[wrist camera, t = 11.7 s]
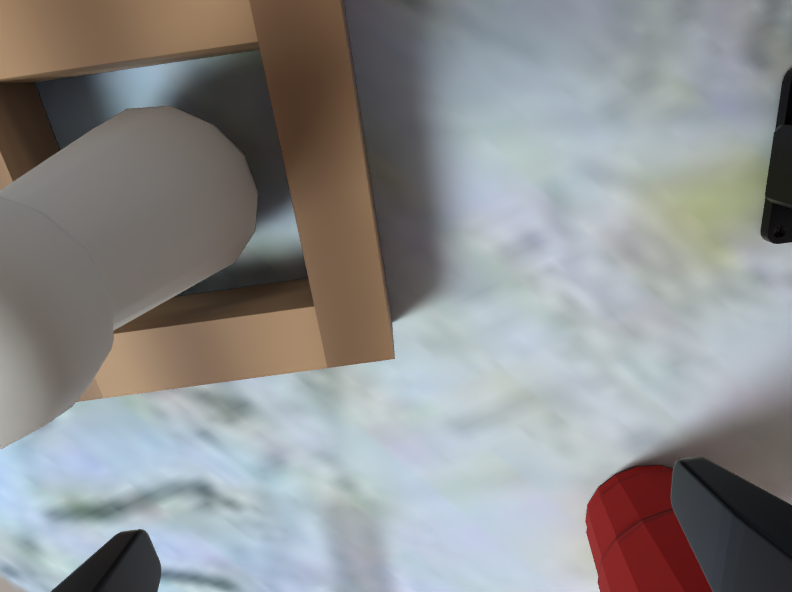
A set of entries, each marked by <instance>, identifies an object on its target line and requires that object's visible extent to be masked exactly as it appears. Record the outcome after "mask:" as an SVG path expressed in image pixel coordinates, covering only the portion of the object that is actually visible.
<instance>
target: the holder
mask: <svg viewBox="0 0 792 592" xmlns="http://www.w3.org/2000/svg"><path fill="white" fill-rule="evenodd" d="M254 50H260V53H261V58H262V63H263V68H264V72H265V77H266V82H267V86H268V91H269V96H270V100H271V105H272V110H273V115H274V119H275V124H276V129H277V133H278V138H279V143H280V147H281V152H282V157H283V161H284V166H285V171H286V176H287V180H288V185H289V190H290V194H291V199H292V204H293V208H294V213H295V218H296V223H297V227H298V232H299V237H300V241H301V246H302V251H303V255H304V260H305V265H306V269H307V274H308V278H307V279H299V280H292V281H285V282H278V283H271V284H263V285H256V286H249V287H242V288H234V289H227V290H220V291H213V292H205V293H198V294H191V295H184V296H176V297H172V298H171V299H169V300H167V301H165V302H163V303H162V304H160V305H158V306H156V307H155V308H153V309H151V310H149V311H148V312H146V313H144V314H142V315H140V316H139V317H137V318H135V319H133V320H132V321H130V322H128V323H126V324H124V325H123V326H121V327H119V328H117V329H116V330H114V331H113V333H114V340H113V345H112V349H111V351H110V352H109V354H108V356H107V357H106V359H105V361H104V362H103V364H102V366H101V367H100V369H99V370H98V372H97V374H96V375H95V377H94V379H93V380H92V382H91V383H90V385H89V386H88V388H87V389H86V390H85V391H84V393H83V394H82V395H81V396H80V398H79V399H78V400H77V401H76V402H79V401H86V400H94V399H101V398H109V397H116V396H123V395H131V394H138V393H146V392H153V391H160V390H168V389H175V388H182V387H190V386H197V385H205V384H212V383H219V382H227V381H234V380H242V379H249V378H256V377H264V376H271V375H279V374H286V373H293V372H301V371H308V370H316V369H323V368H330V367H338V366H345V365H353V364H360V363H367V362H375V361H382V360H390V359H395V356H394V341H393V327H392V319H391V312H390V305H389V299H388V292H387V285H386V279H385V272H384V265H383V259H382V252H381V246H380V239H379V232H378V226H377V219H376V212H375V206H374V199H373V193H372V186H371V179H370V173H369V166H368V159H367V153H366V146H365V140H364V133H363V126H362V120H361V113H360V106H359V100H358V93H357V86H356V80H355V73H354V67H353V60H352V53H351V47H350V40H349V33H348V27H347V20H346V14H345V7H344V0H0V190H1V189H3V188H4V187H6V186H7V185H9V184H10V183H12V182H13V181H15V180H16V179H18V178H20V177H21V176H23V175H24V174H26V173H27V172H29V171H30V170H32V169H33V168H35V167H36V166H38V165H39V164H41V163H42V162H44V161H45V160H47V159H48V158H50V157H51V156H53V155H54V154H56V153H57V152H59V151H60V149H59V147H58V144H57V141H56V139H55V136H54V133H53V131H52V128H51V125H50V123H49V120H48V117H47V115H46V112H45V109H44V107H43V104H42V101H41V99H40V96H39V93H38V91H37V88H36V85H35V82H42V81H49V80H55V79H62V78H69V77H76V76H83V75H90V74H97V73H103V72H110V71H117V70H124V69H131V68H138V67H145V66H151V65H158V64H165V63H172V62H179V61H186V60H193V59H199V58H206V57H213V56H220V55H227V54H234V53H241V52H247V51H254Z"/></svg>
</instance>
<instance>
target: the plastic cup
mask: <svg viewBox="0 0 792 592" xmlns="http://www.w3.org/2000/svg"><path fill="white" fill-rule="evenodd" d="M672 475H673V469H672V468H669V467H665V466H661V465H651V466H637V467H634V468H632V469H629V470H626V471H624V472H621V473H619V474H616V475H614V476H613V477H612V478H610V479H609V480H608V481H607V482H605V483H604V484H603V485H601V486H600V487H599V488H598V489H597V490H596V492H595V494H594V495H593V497H592V498H591V500H590V502H589V503H588V505H587V513H586V525H587V532H586V533H587V536H588V540H589V544H590V547H591V551H592V555H593V558H594V562H595V566H596V569H597V573H598V585H599V589H600V592H713V591H712V589H711V587H710V585H709V583H708V581H707V579H706V577H705V575H704V572H703V570H702V568H701V566H700V564H699V562H698V560H697V558H696V556H695V554H694V552H693V550H692V548H691V546H690V544H689V542H688V539H687V537H686V535H685V533H684V531H683V529H682V527H681V525H680V523H679V521H678V519H677V517H676V515H675V513H674V510H673V507H672V504H671V485H672Z"/></svg>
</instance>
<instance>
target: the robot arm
mask: <svg viewBox="0 0 792 592" xmlns="http://www.w3.org/2000/svg"><path fill="white" fill-rule="evenodd" d="M765 196H766V197H765V204H764V211H763V218H762V225H761V236H762V238H763V239H765V240H766V241H769V242H771V243H774V244H781V243H788V242H792V68H791V69H790V70H789V71H788V72H787V73H786V75H785V76H784V79H783V82H782V88H781V95H780V102H779V108H778V115H777V122H776V129H775V132H774V137H773V144H772V151H771V158H770V165H769V172H768V178H767V185H766V192H765ZM778 226H780V229H779V231H778V232H777V233H776V234H774V231H775V229H776V228H777V227H778ZM671 504H672V507H673V510H674V513H675V515H676V517H677V519H678V521H679V523H680V525H681V527H682V529H683V531H684V533H685V535H686V537H687V539H688V542H689V544H690V546H691V548H692V550H693V552H694V554H695V556H696V558H697V560H698V562H699V564H700V566H701V568H702V570H703V572H704V575H705V577H706V579H707V581H708V583H709V585H710V587H711V589H712V591H713V592H792V505H791V504H789V503H787V502H785V501H783V500H781V499H779V498H778V497H776V496H774V495H772V494H770V493H768V492H767V491H765V490H763V489H761V488H759V487H757V486H755V485H754V484H752V483H750V482H748V481H746V480H744V479H743V478H741V477H739V476H737V475H735V474H733V473H731V472H730V471H728V470H726V469H724V468H722V467H720V466H719V465H717V464H715V463H713V462H711V461H709V460H707V459H705V458H703V457H690V458H682V459H678V460H676V461H675V463H674V466H673V475H672V485H671ZM160 578H161V564H160V561H159V558H158V556H157V554H156V551H155V549H154V547H153V544H152V542H151V540H150V537H149V535H148V533H147V532H146V531H145V530H141V529H138V530H131V531H123V532H120V533H118V534H116V535H115V536H114V537H113V538H112V539H110V540H109V541H108V542H107V543H106V544H105V545H104V546H102V547H101V548H100V549H99V550H98V551H97V552H96V553H94V554H93V555H92V556H91V557H90V558H89V559H88V560H86V561H85V562H84V563H83V564H82V565H81V566H79V567H78V568H77V569H76V570H75V571H74V572H73V573H71V574H70V575H69V576H68V577H67V578H66V579H65V580H63V581H62V582H61V583H60V584H59V585H58V586H57V587H55V588H54V589H53V590H52V591H51V592H157V591H158V587H159V583H160Z"/></svg>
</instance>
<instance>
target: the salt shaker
mask: <svg viewBox="0 0 792 592" xmlns="http://www.w3.org/2000/svg"><path fill="white" fill-rule="evenodd" d="M257 200H258V191H257V188H256V185H255V183H254V180H253V177H252V175H251V172H250V169H249V166H248V164H247V161H246V158H245V155H244V154H243V153H242V152H241V151H240V150H239V149H238V148H237V147H236V146H235V145H234V144H233V143H232V142H231V141H230V140H229V139H228V138H227V137H226V136H225V135H224V134H223V133H222V132H221V131H220V130H219V129H218V128H217V127H216V126H215V125H213V124H210V123H208V122H206V121H204V120H201V119H199V118H197V117H195V116H192V115H190V114H188V113H186V112H183V111H181V110H179V109H177V108H174V107H171V106H160V107H146V108H132V109H126V110H124V111H122V112H121V113H119V114H117V115H116V116H114V117H112V118H110V119H109V120H107V121H105V122H104V123H102V124H100V125H99V126H97V127H95V128H93V129H92V130H90V131H89V132H87V133H86V134H84V135H83V136H81V137H80V138H78V139H77V140H75V141H74V142H72V143H71V144H69V145H68V146H66V147H65V148H63V149H62V150H60V151H59V152H57V153H56V154H54V155H53V156H51V157H50V158H48V159H47V160H45V161H44V162H42V163H41V164H39V165H38V166H36V167H35V168H33V169H32V170H30V171H29V172H27V173H26V174H24V175H23V176H21V177H20V178H18V179H16V180H15V181H13V182H12V183H10V184H9V185H7V186H6V187H4V188H3V189H1V190H0V449H3V448H5V447H6V446H8V445H10V444H12V443H14V442H16V441H17V440H19V439H21V438H23V437H25V436H27V435H28V434H30V433H32V432H34V431H36V430H38V429H39V428H41V427H43V426H45V425H46V424H48V423H49V422H51V421H52V420H54V419H55V418H56V417H58V416H59V415H61V414H62V413H64V412H65V411H67V410H68V409H69V408H71V407H72V406H73V405H74V404H75V402H76V401H77V400H78V399H79V398H80V396H81V395H82V394H83V393H84V391H85V390H86V389H87V388H88V386H89V385H90V383H91V382H92V380H93V379H94V377H95V375H96V374H97V372H98V370H99V369H100V367H101V366H102V364H103V362H104V361H105V359H106V357H107V356H108V354H109V352H110V351H111V349H112V345H113V340H114V333H113V331H114V330H116V329H117V328H119V327H121V326H123V325H124V324H126V323H128V322H130V321H132V320H133V319H135V318H137V317H139V316H140V315H142V314H144V313H146V312H148V311H149V310H151V309H153V308H155V307H156V306H158V305H160V304H162V303H163V302H165V301H167V300H169V299H171V298H172V297H174V296H176V295H178V294H179V293H181V292H183V291H185V290H187V289H188V288H190V287H192V286H194V285H195V284H197V283H199V282H201V281H202V280H204V279H206V278H208V277H210V276H211V275H213V274H215V273H217V272H219V271H221V270H222V269H224V268H226V267H228V266H230V265H231V264H233V263H235V262H236V260H237V258H238V257H239V255H240V254H241V252H242V251H243V249H244V248H245V246H246V245H247V243H248V242H249V240H250V239H251V237H252V235H253V234H254V232H255V227H256V213H257Z"/></svg>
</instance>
